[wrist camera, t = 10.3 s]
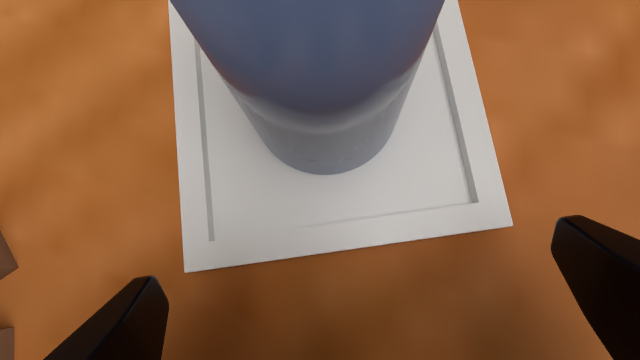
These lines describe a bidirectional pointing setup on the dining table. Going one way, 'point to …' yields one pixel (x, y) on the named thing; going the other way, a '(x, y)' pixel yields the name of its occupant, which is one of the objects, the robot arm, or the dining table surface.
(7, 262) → the walnut block
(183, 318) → the dining table surface
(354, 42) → the blue cylinder
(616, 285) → the robot arm
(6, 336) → the walnut block
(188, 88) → the tray
